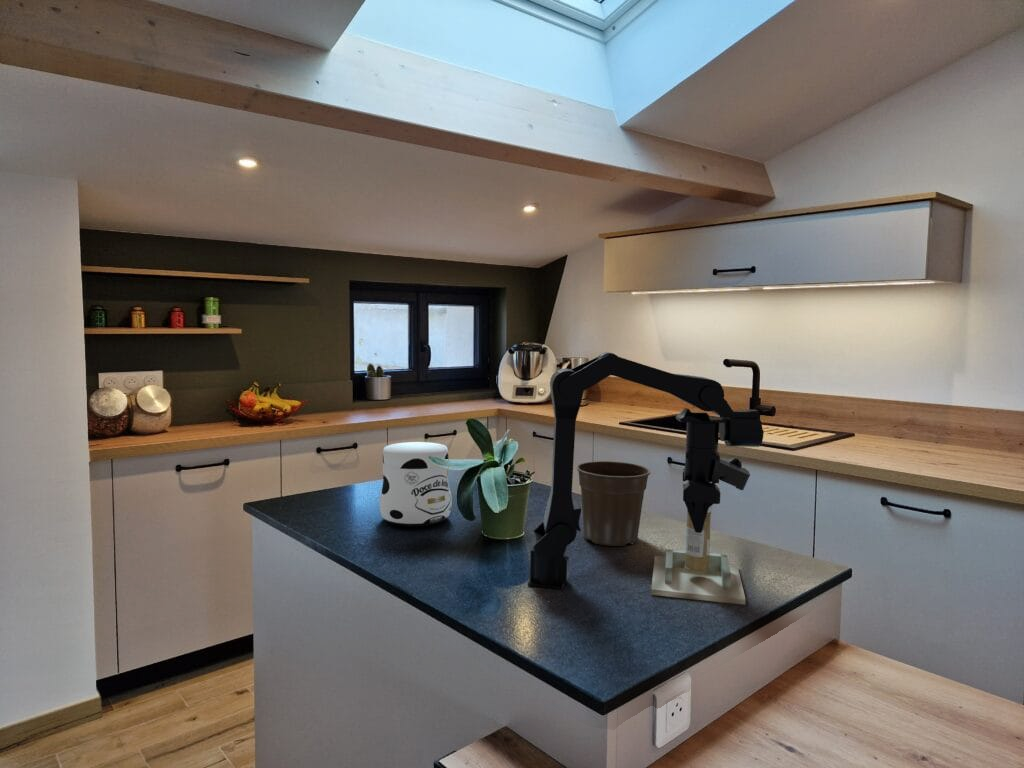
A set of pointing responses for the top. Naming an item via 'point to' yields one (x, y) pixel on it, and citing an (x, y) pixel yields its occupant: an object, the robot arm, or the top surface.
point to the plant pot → (612, 501)
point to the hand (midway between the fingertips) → (698, 528)
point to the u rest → (697, 579)
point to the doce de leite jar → (414, 485)
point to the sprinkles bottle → (698, 546)
